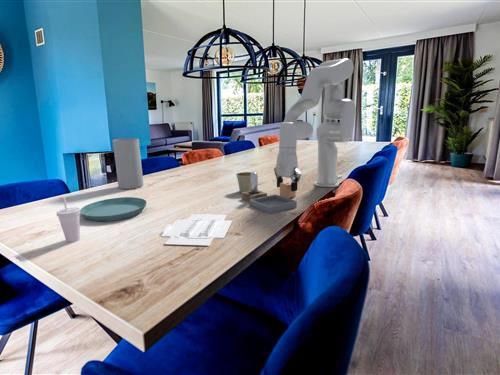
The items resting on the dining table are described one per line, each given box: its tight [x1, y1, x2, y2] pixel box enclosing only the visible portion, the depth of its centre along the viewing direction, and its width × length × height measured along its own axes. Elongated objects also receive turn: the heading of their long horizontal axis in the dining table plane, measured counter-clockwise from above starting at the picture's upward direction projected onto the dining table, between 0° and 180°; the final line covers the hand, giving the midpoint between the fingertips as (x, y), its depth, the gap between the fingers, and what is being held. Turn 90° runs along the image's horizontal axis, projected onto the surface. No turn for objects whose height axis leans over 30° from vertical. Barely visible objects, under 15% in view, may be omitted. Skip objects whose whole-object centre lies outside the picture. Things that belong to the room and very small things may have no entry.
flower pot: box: [235, 171, 252, 193], centre depth 152 cm, size 9×9×9 cm
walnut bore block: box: [241, 190, 268, 203], centre depth 139 cm, size 8×8×3 cm
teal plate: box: [79, 196, 147, 222], centre depth 125 cm, size 24×24×3 cm
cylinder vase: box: [112, 137, 144, 190], centre depth 165 cm, size 12×12×25 cm
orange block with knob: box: [279, 181, 297, 199], centre depth 143 cm, size 5×5×6 cm
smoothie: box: [56, 196, 81, 243], centre depth 97 cm, size 6×6×14 cm
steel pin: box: [251, 171, 259, 195], centre depth 138 cm, size 3×3×12 cm
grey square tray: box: [249, 194, 298, 214], centre depth 129 cm, size 14×14×2 cm
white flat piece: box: [160, 213, 233, 247], centre depth 106 cm, size 20×28×4 cm
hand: (286, 188), depth 142 cm, fingers open, 9 cm apart
